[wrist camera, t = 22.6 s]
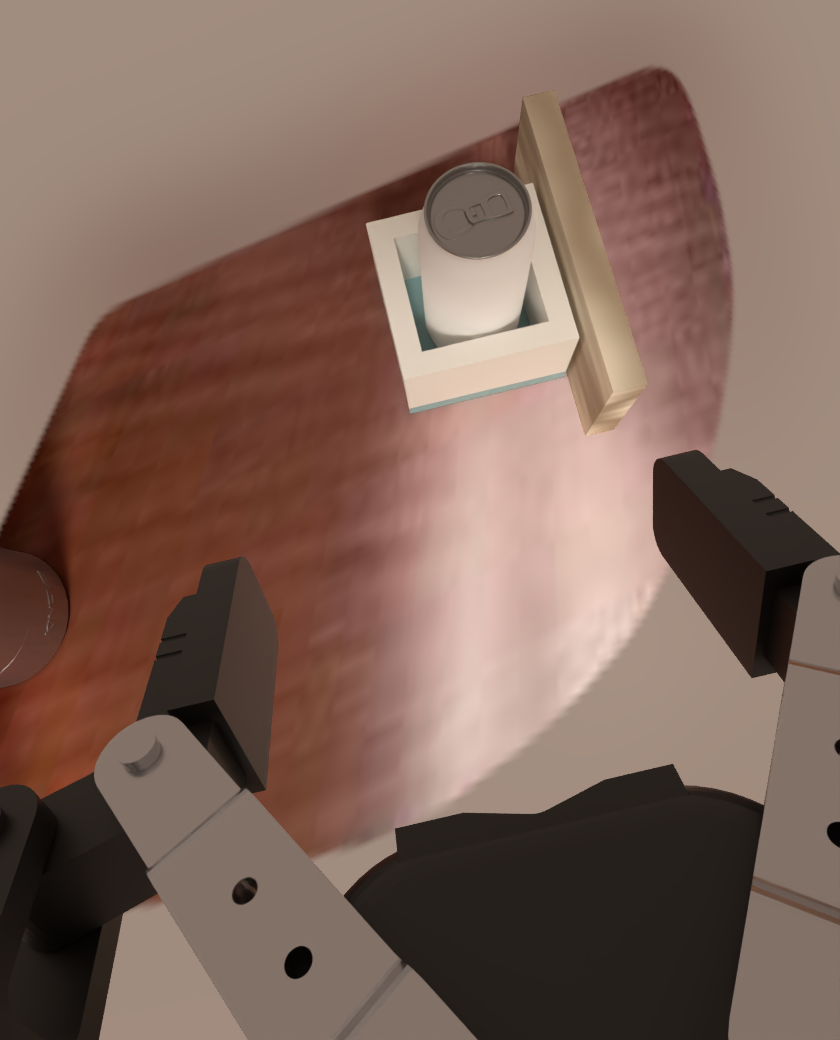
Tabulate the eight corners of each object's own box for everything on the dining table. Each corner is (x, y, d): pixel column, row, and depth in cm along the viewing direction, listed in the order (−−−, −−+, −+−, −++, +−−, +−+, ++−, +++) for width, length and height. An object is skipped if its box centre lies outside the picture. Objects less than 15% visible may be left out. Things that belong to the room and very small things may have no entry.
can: (412, 298, 46) (397, 180, 34) (497, 265, 46) (511, 137, 34) (446, 378, 45) (442, 284, 33) (533, 344, 45) (560, 238, 33)
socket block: (410, 413, 45) (403, 379, 40) (376, 275, 48) (365, 223, 42) (563, 377, 45) (579, 337, 40) (523, 239, 47) (532, 182, 42)
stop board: (585, 435, 45) (613, 391, 37) (511, 186, 48) (522, 97, 40) (613, 429, 44) (647, 383, 37) (537, 179, 48) (554, 90, 40)
